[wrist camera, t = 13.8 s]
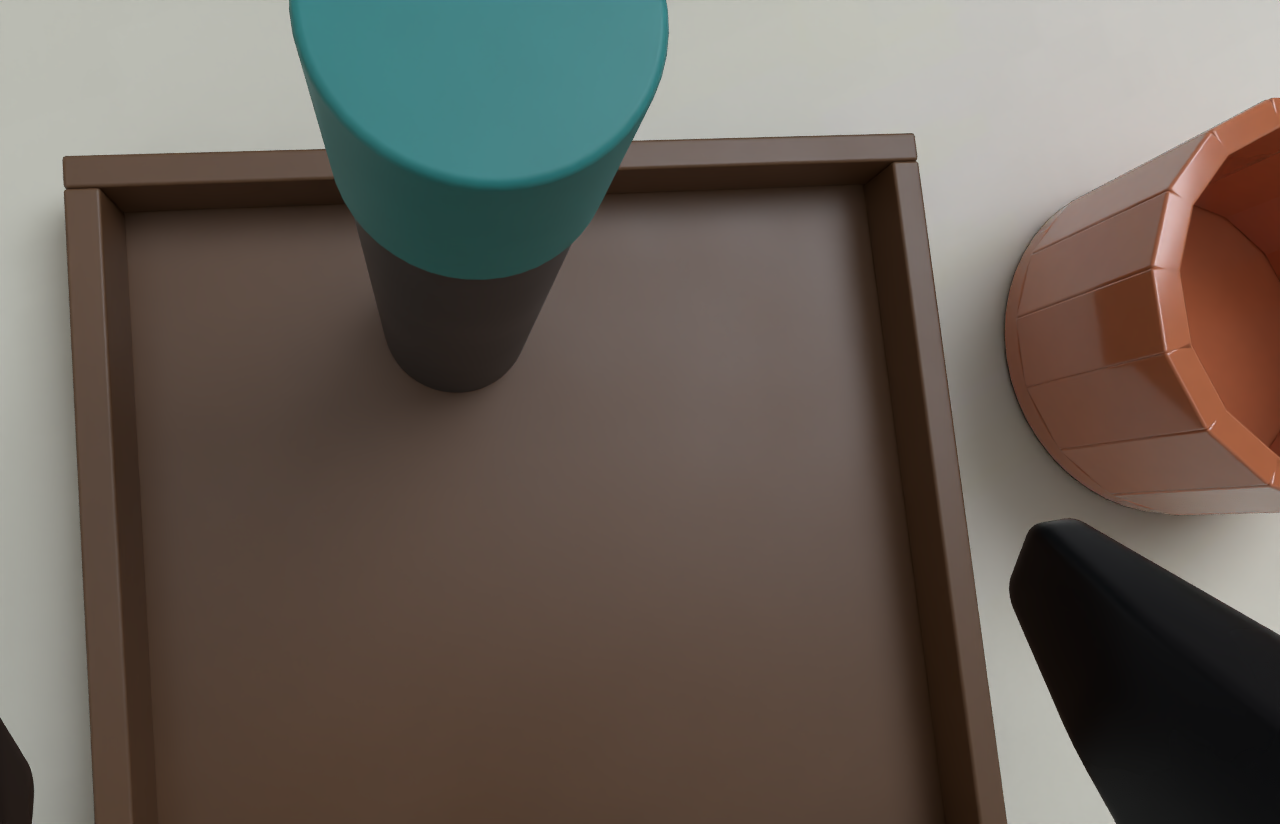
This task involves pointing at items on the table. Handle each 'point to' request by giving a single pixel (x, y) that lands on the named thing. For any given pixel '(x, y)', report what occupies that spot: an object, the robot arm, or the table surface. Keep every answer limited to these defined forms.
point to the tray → (527, 509)
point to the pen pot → (1162, 327)
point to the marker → (474, 154)
